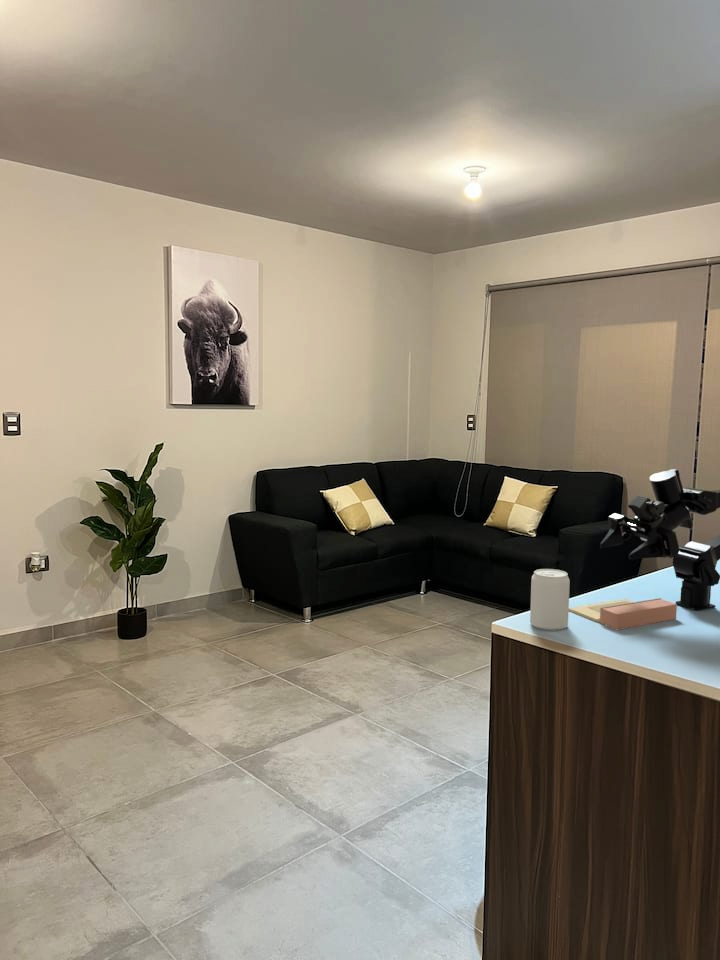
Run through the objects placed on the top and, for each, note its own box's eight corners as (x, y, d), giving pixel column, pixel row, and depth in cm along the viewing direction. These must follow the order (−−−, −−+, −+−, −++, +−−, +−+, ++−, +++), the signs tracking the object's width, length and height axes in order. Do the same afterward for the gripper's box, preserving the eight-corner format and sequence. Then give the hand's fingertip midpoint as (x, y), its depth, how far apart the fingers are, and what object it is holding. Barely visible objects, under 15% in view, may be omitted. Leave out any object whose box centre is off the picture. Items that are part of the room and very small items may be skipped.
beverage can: (569, 633, 157) (571, 578, 156) (530, 630, 159) (532, 576, 157) (566, 621, 165) (568, 569, 164) (529, 619, 167) (531, 567, 165)
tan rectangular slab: (625, 601, 181) (625, 598, 181) (657, 612, 172) (657, 609, 172) (568, 610, 173) (568, 607, 173) (598, 622, 164) (598, 619, 164)
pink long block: (658, 613, 171) (659, 598, 171) (676, 619, 167) (677, 603, 166) (599, 623, 164) (600, 607, 163) (616, 629, 159) (617, 613, 159)
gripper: (627, 482, 176) (578, 512, 172) (690, 497, 159) (636, 530, 155) (638, 522, 180) (590, 552, 175) (700, 541, 163) (648, 575, 158)
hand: (614, 551), depth 166 cm, fingers open, 9 cm apart
